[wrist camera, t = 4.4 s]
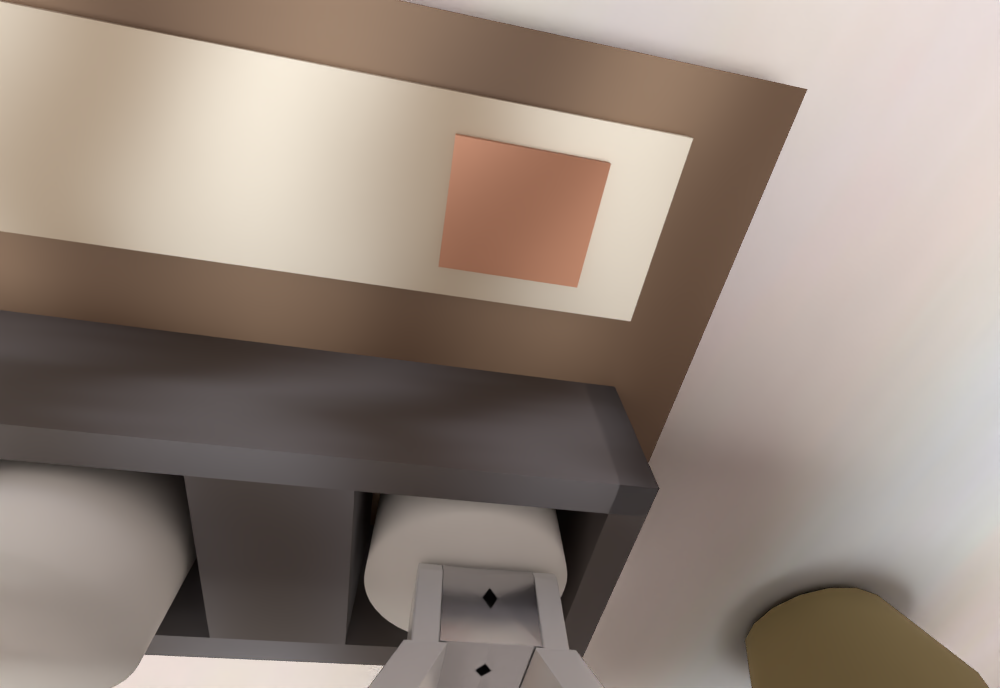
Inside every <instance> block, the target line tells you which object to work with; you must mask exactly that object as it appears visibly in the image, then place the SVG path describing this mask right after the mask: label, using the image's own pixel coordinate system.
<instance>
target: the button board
mask: <svg viewBox="0 0 1000 688" xmlns="http://www.w3.org/2000/svg"><path fill="white" fill-rule="evenodd" d="M806 91H807V89H804V88H799V87H794V86H790V85H785V84H781V83H776V82H771V81H767V80H762V79H758V78H753V77H748V76H744V75H739V74H735V73H730V72H726V71H721V70H716V69H712V68H707V67H703V66H698V65H693V64H689V63H684V62H680V61H675V60H671V59H666V58H661V57H657V56H652V55H648V54H643V53H638V52H634V51H629V50H625V49H620V48H615V47H611V46H606V45H602V44H597V43H593V42H588V41H583V40H579V39H574V38H570V37H565V36H560V35H556V34H551V33H547V32H542V31H537V30H533V29H528V28H524V27H519V26H515V25H510V24H505V23H501V22H496V21H492V20H487V19H482V18H478V17H473V16H469V15H464V14H459V13H455V12H450V11H446V10H441V9H437V8H432V7H427V6H423V5H418V4H414V3H409V2H404V1H400V0H0V459H4V460H15V461H26V462H37V463H49V464H60V465H71V466H82V467H93V468H104V469H115V470H127V471H138V472H149V473H160V474H171V475H182V476H184V480H185V486H186V493H187V499H188V505H189V511H190V518H191V524H192V530H193V536H194V542H195V549H196V555H197V558H196V559H195V561H194V563H193V565H192V567H191V569H190V570H189V572H188V574H187V576H186V578H185V580H184V582H183V583H182V585H181V587H180V589H179V591H178V593H177V595H176V596H175V598H174V600H173V602H172V604H171V606H170V608H169V609H168V611H167V613H166V615H165V617H164V619H163V621H162V622H161V624H160V626H159V628H158V630H157V632H156V634H155V635H154V637H153V639H152V641H151V643H150V645H149V647H148V648H147V650H146V652H145V654H144V655H164V656H186V657H208V658H230V659H252V660H274V661H296V662H318V663H340V664H363V665H385V664H386V663H387V662H388V660H389V659H390V658H391V656H392V655H393V654H394V652H395V651H396V650H397V648H398V647H399V646H400V644H401V643H402V642H403V640H407V636H408V632H407V631H405V630H403V629H401V628H399V627H397V626H395V625H394V624H392V623H390V622H389V621H388V620H386V619H385V618H384V617H383V616H381V614H380V613H379V612H378V611H377V610H376V609H375V608H374V606H373V605H372V604H371V602H370V600H369V598H368V596H367V594H366V590H365V586H364V574H365V569H366V564H367V559H368V554H369V549H370V544H371V539H372V534H373V529H374V524H375V519H376V514H377V509H378V504H379V499H380V494H381V493H383V494H394V495H405V496H417V497H428V498H439V499H450V500H461V501H472V502H484V503H495V504H506V505H517V506H528V507H539V508H550V509H556V514H557V519H558V524H559V529H560V535H561V540H562V545H563V551H564V556H565V561H566V567H567V582H566V586H565V589H564V592H563V594H562V596H561V598H560V599H561V604H562V610H563V616H564V622H565V628H566V634H567V640H568V646H569V649H571V650H576V651H577V652H578V654H579V655H580V656H581V657H583V655H584V653H585V651H586V649H587V646H588V644H589V642H590V640H591V637H592V635H593V633H594V631H595V629H596V626H597V624H598V622H599V620H600V618H601V615H602V613H603V611H604V609H605V607H606V604H607V602H608V600H609V598H610V596H611V593H612V591H613V589H614V587H615V585H616V582H617V580H618V578H619V576H620V574H621V571H622V569H623V567H624V565H625V563H626V560H627V558H628V556H629V554H630V552H631V549H632V547H633V545H634V543H635V541H636V538H637V536H638V534H639V532H640V530H641V527H642V525H643V523H644V521H645V519H646V516H647V514H648V512H649V510H650V508H651V505H652V503H653V501H654V499H655V497H656V494H657V492H658V490H659V487H658V485H657V482H656V480H655V478H654V476H653V473H652V471H651V469H650V466H649V464H648V462H649V460H650V457H651V455H652V453H653V450H654V448H655V446H656V443H657V441H658V439H659V436H660V434H661V432H662V429H663V427H664V425H665V422H666V420H667V418H668V415H669V413H670V410H671V408H672V406H673V403H674V401H675V399H676V396H677V394H678V392H679V389H680V387H681V385H682V382H683V380H684V378H685V375H686V373H687V371H688V368H689V366H690V364H691V361H692V359H693V356H694V354H695V352H696V349H697V347H698V345H699V342H700V340H701V338H702V335H703V333H704V331H705V328H706V326H707V324H708V321H709V319H710V317H711V314H712V312H713V309H714V307H715V305H716V302H717V300H718V298H719V295H720V293H721V291H722V288H723V286H724V284H725V281H726V279H727V277H728V274H729V272H730V270H731V267H732V265H733V263H734V260H735V258H736V255H737V253H738V251H739V248H740V246H741V244H742V241H743V239H744V237H745V234H746V232H747V230H748V227H749V225H750V223H751V220H752V218H753V216H754V213H755V211H756V209H757V206H758V204H759V201H760V199H761V197H762V194H763V192H764V190H765V187H766V185H767V183H768V180H769V178H770V176H771V173H772V171H773V169H774V166H775V164H776V162H777V159H778V157H779V154H780V152H781V150H782V147H783V145H784V143H785V140H786V138H787V136H788V133H789V131H790V129H791V126H792V124H793V122H794V119H795V117H796V115H797V112H798V110H799V108H800V105H801V103H802V100H803V98H804V96H805V93H806Z"/></svg>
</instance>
